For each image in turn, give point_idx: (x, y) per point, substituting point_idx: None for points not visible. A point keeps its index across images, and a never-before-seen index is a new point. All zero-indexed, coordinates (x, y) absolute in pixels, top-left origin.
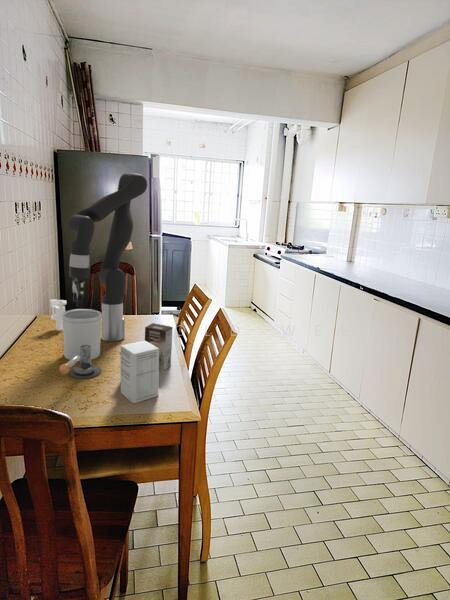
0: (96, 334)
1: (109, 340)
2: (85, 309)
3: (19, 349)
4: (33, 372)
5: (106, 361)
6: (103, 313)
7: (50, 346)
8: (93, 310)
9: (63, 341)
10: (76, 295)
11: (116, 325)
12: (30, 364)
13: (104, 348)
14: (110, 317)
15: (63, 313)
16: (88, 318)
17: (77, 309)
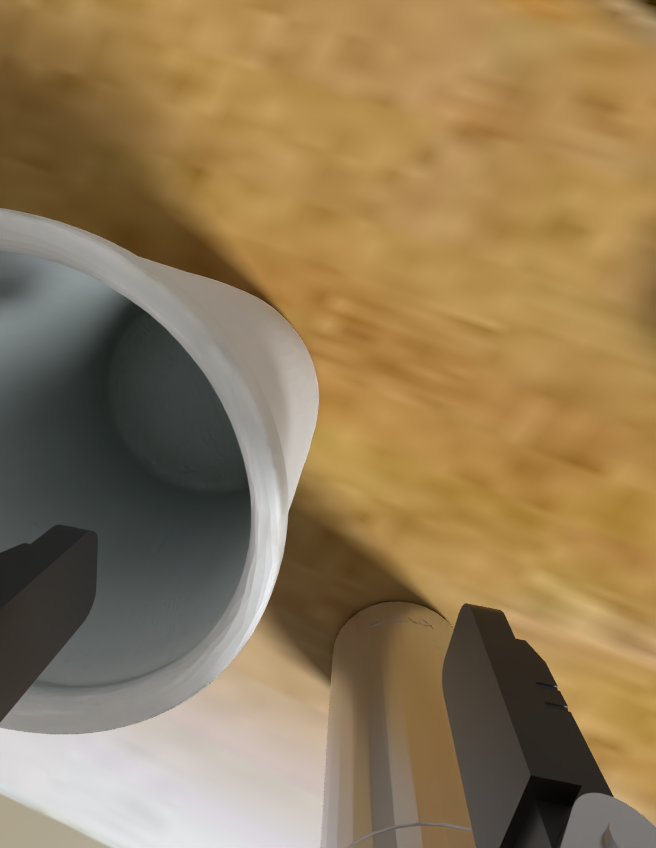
0: (9, 505)
1: (349, 624)
2: (228, 635)
3: (541, 43)
4: (54, 21)
5: None
6: (413, 785)
7: (475, 271)
8: (147, 700)
9: (203, 276)
10: (491, 782)
11: (326, 749)
12: (199, 40)
13: None
14: (341, 784)
15: (105, 264)
16: (232, 584)
17: (264, 541)
